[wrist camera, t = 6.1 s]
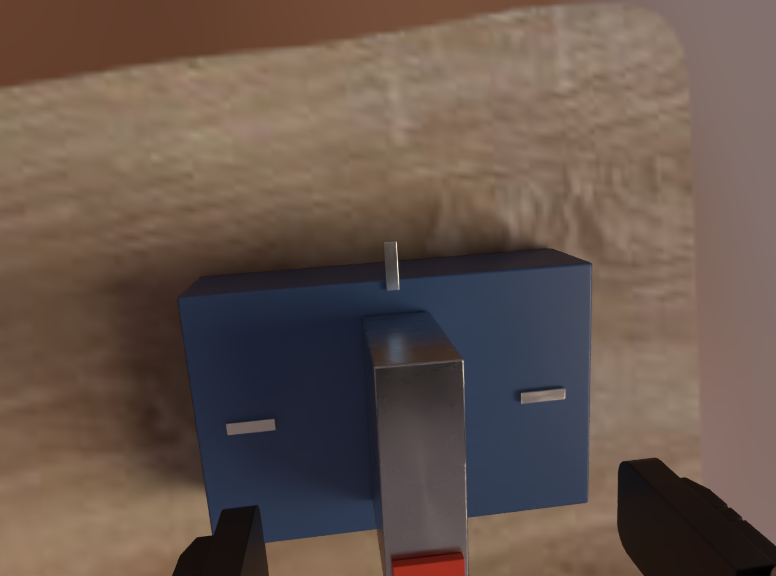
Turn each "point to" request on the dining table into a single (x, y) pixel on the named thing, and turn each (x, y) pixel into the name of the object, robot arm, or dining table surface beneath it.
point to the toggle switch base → (348, 392)
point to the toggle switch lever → (416, 444)
